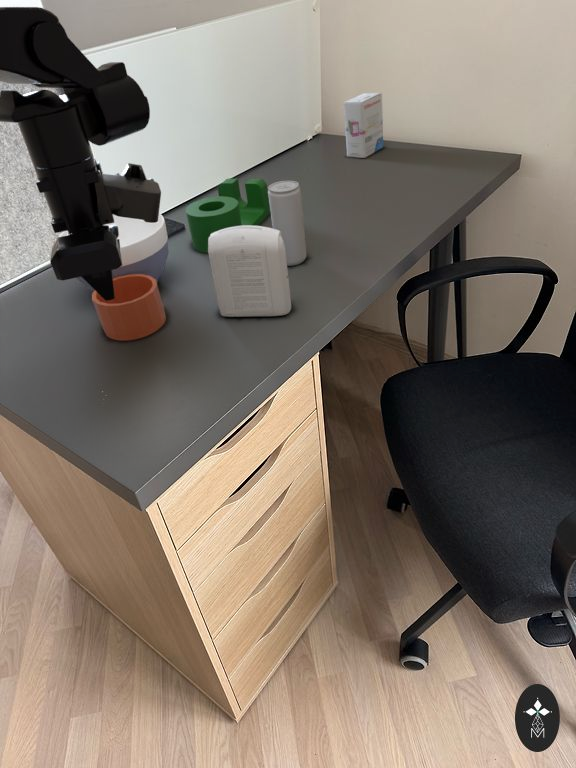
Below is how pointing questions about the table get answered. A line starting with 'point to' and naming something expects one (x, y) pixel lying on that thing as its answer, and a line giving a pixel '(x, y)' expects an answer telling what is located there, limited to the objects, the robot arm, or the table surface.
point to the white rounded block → (250, 271)
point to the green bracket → (227, 210)
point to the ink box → (364, 124)
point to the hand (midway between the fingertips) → (110, 298)
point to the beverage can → (288, 219)
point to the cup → (131, 308)
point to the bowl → (139, 247)
